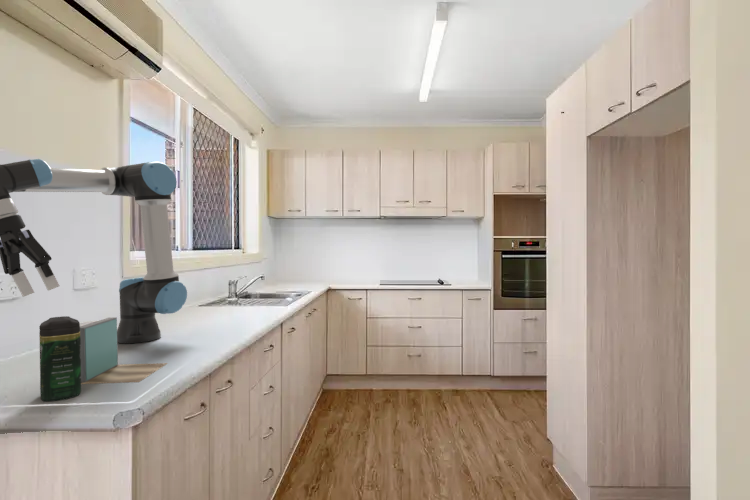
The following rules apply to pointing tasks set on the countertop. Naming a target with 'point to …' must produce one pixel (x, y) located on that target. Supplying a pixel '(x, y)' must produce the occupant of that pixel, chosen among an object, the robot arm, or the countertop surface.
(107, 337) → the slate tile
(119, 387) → the countertop surface
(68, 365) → the coffee jar
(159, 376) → the countertop surface
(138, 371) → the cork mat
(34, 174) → the robot arm
